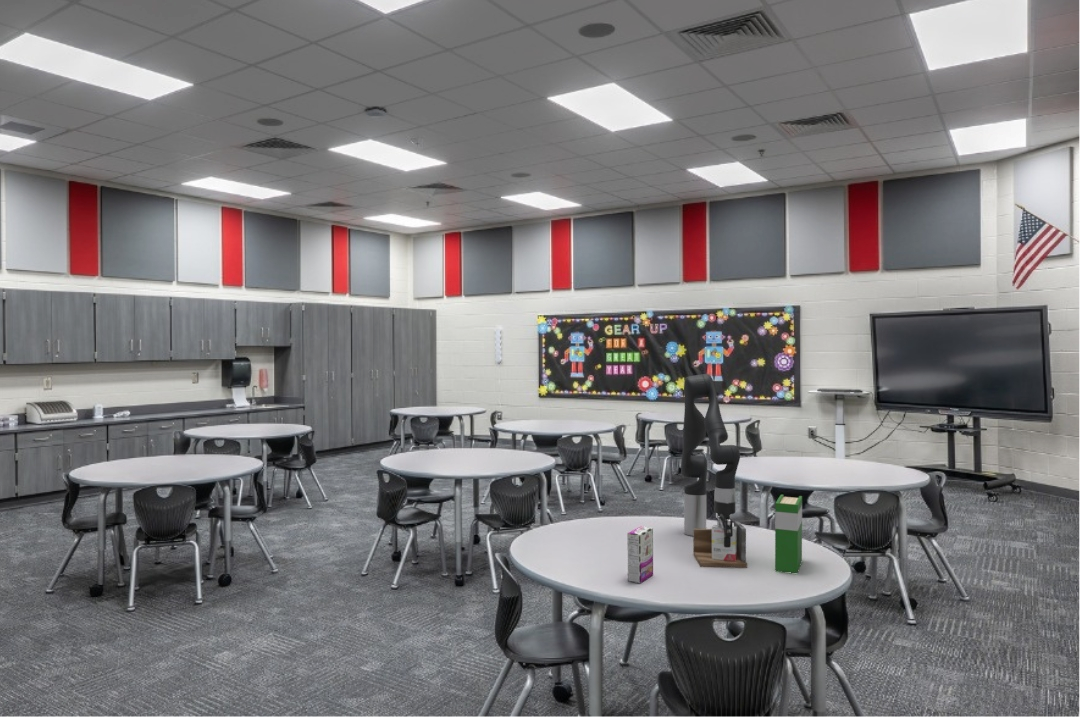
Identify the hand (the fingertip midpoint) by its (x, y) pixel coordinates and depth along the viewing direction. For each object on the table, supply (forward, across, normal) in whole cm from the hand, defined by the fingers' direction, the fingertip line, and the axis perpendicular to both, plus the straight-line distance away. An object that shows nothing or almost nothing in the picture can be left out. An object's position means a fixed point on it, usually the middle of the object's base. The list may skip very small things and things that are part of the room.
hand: (724, 544), depth 252 cm
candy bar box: (+7, +20, -32) cm, 39 cm away
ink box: (+6, 0, 0) cm, 6 cm away
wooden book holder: (+7, -2, -2) cm, 7 cm away
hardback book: (+7, +2, +22) cm, 24 cm away
